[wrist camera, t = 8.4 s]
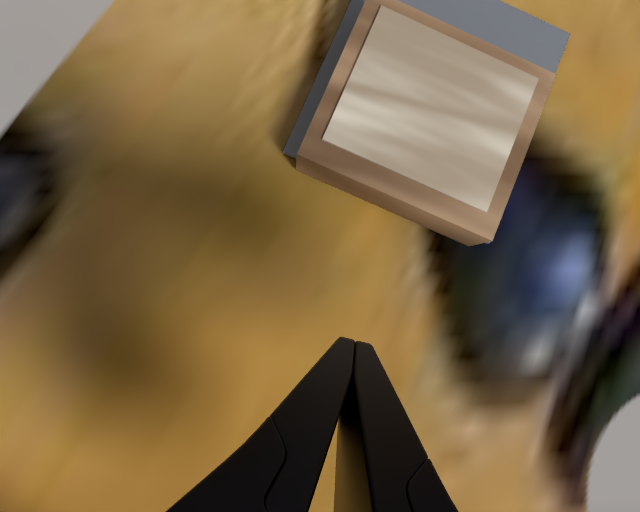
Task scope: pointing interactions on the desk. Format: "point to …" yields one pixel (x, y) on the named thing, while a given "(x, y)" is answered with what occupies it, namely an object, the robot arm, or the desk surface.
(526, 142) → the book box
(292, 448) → the robot arm
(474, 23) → the grey square plate
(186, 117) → the desk surface
